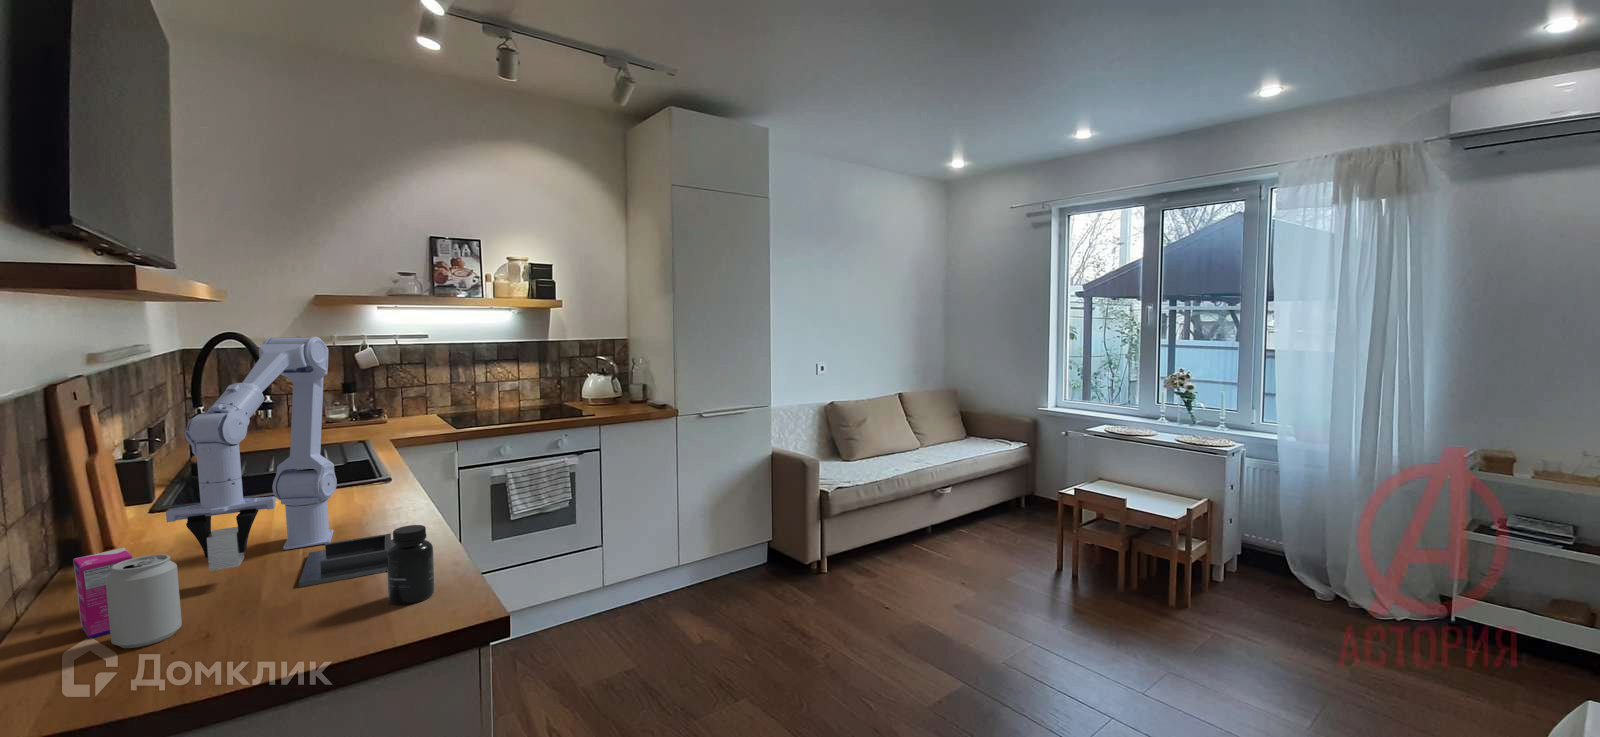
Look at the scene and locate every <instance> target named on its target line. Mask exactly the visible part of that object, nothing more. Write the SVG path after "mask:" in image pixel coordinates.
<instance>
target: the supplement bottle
mask: <svg viewBox="0 0 1600 737" xmlns="http://www.w3.org/2000/svg"><path fill="white" fill-rule="evenodd" d="M426 528H427V527H426V525H423V524H422V525H421V524H410V525H409V524H408V525H404V526H401V527H397V528H395V529H394V530H393V532H392V540H393V543H395V544H394V545H393V546H391V547H390V548H389V550H388V552H387V572H386V573H387V593H388V602H390V603H391V604H393V605H397V606H398V605H399V606H400V605H401V606H404V605H411V604H417V603H420V602H423V601H426V600H428V599H429V598H430V597H432V596H433V594H434V593H435V571H434V570H435V568H434V565H435V564H434V546H433V544H432V543H431V542H430V541H429V540H426V539H427V531H426V530H427V529H426Z"/></svg>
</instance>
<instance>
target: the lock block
mask: <svg viewBox="0 0 1600 737" xmlns="http://www.w3.org/2000/svg"><path fill="white" fill-rule="evenodd" d="M207 549H208V558H207V560H208V571H209V572H212V571H218V570H224V569H231V568H237V567H240V566H241V564H242V562H243V560H244V559H245V552H243V553H240V551H239V532H238V526H234V527H233V526H232V527H226V528H224V527H223V528H219V529H213V530H211V533H210V534H209V536H208V537H207Z"/></svg>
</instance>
